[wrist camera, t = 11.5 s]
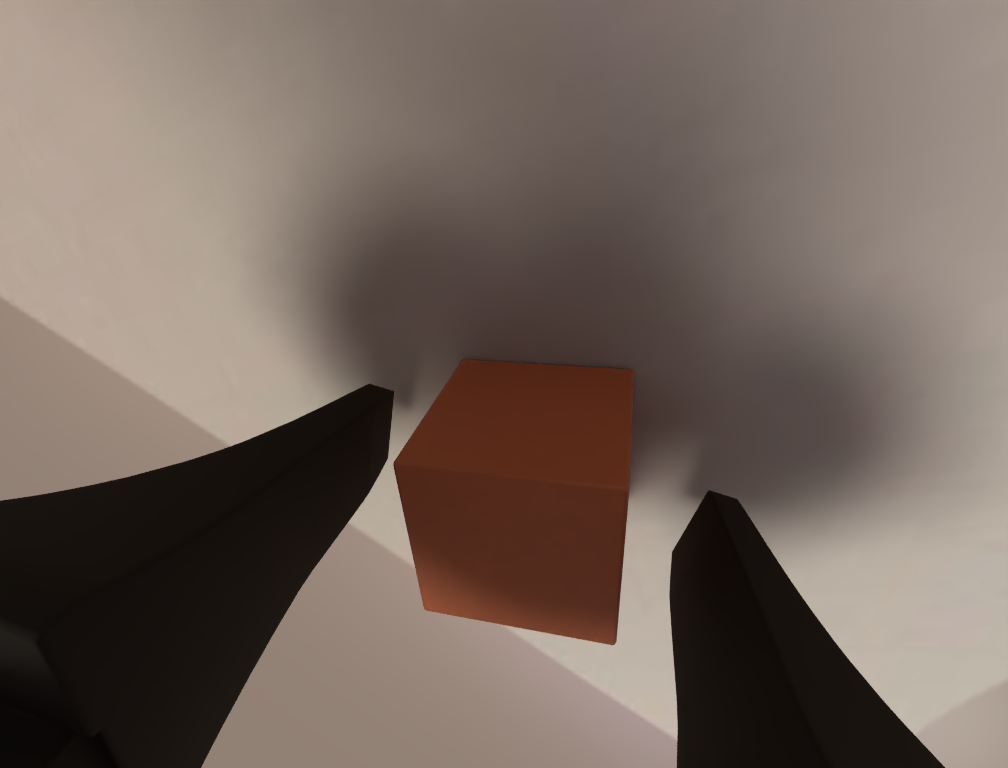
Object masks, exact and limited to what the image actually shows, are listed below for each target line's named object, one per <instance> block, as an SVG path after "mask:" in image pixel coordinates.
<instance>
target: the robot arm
mask: <svg viewBox="0 0 1008 768" xmlns="http://www.w3.org/2000/svg"><path fill="white" fill-rule="evenodd" d="M393 399H394V391H391V390H388V389H385V388H382V387H379V386H375V385H372V384H368V385H365V386H363V387H361V388H359V389H357V390H355V391H353V392H351V393H349V394H347V395H345V396H343V397H341V398H339V399H337V400H335V401H333V402H331V403H329V404H327V405H325V406H323V407H321V408H319V409H317V410H315V411H312V412H310V413H308V414H306V415H304V416H302V417H300V418H298V419H296V420H294V421H291V422H289V423H287V424H284V425H282V426H280V427H277V428H275V429H273V430H270V431H268V432H266V433H263V434H261V435H258V436H256V437H254V438H251V439H249V440H246V441H244V442H241V443H239V444H236V445H233V446H231V447H228V448H225V449H222V450H219V451H216V452H213V453H210V454H207V455H204V456H201V457H198V458H195V459H192V460H189V461H185V462H182V463H179V464H175V465H171V466H167V467H164V468H160V469H156V470H152V471H149V472H145V473H141V474H138V475H134V476H130V477H126V478H122V479H117V480H113V481H108V482H104V483H99V484H95V485H90V486H85V487H80V488H75V489H70V490H64V491H59V492H54V493H48V494H42V495H37V496H30V497H23V498H17V499H10V500H3V501H0V768H201V767H202V765H203V763H204V761H205V759H206V757H207V755H208V753H209V751H210V749H211V747H212V745H213V743H214V741H215V739H216V737H217V735H218V733H219V732H220V730H221V728H222V726H223V724H224V722H225V720H226V718H227V717H228V715H229V713H230V711H231V709H232V707H233V705H234V704H235V702H236V700H237V698H238V696H239V694H240V693H241V690H242V689H243V687H244V685H245V683H246V682H247V680H248V678H249V676H250V674H251V672H252V670H253V669H254V667H255V665H256V664H257V662H258V660H259V658H260V657H261V655H262V653H263V651H264V650H265V648H266V646H267V644H268V642H269V641H270V639H271V637H272V635H273V634H274V632H275V630H276V628H277V627H278V625H279V623H280V622H281V620H282V618H283V617H284V615H285V613H286V612H287V610H288V608H289V607H290V605H291V603H292V602H293V600H294V598H295V596H296V595H297V593H298V591H299V590H300V588H301V587H302V585H303V584H304V582H305V581H306V579H307V578H308V576H309V575H310V573H311V572H312V570H313V569H314V568H315V566H316V565H317V564H318V562H319V561H320V560H321V558H322V557H323V556H324V554H325V553H326V552H327V550H328V549H329V547H330V546H331V544H332V543H333V542H334V541H335V539H336V538H337V537H338V535H339V534H340V532H341V531H342V530H343V528H344V527H345V526H346V524H347V523H348V522H349V520H350V519H351V517H352V516H353V515H354V513H355V512H356V511H357V509H358V508H359V506H360V505H361V504H362V502H363V501H364V499H365V498H366V497H367V495H368V494H369V492H370V490H371V488H372V487H373V485H374V483H375V481H376V479H377V478H378V476H379V474H380V472H381V470H382V468H383V466H384V465H385V463H386V461H387V459H388V451H389V441H390V430H391V420H392V409H393ZM670 612H671V627H672V641H673V655H674V668H675V682H676V695H677V716H678V742H677V744H678V745H677V768H945V767H944V766H943V765H942V764H941V763H940V762H939V761H938V760H937V759H936V757H934V755H933V754H932V753H931V752H930V751H929V750H928V749H927V748H926V747H925V746H924V745H923V744H922V743H921V742H920V740H919V739H918V738H917V737H916V736H915V735H914V734H913V733H912V732H911V731H910V730H909V729H908V728H907V727H906V726H905V724H904V723H903V722H902V721H901V720H900V719H899V718H898V717H897V716H896V714H895V713H894V712H893V711H892V710H891V709H890V708H889V707H888V706H887V704H886V703H885V702H884V701H883V700H882V699H881V698H880V696H879V695H878V694H877V693H876V692H875V690H874V689H873V688H872V687H871V686H870V684H869V683H868V682H867V681H866V680H865V678H864V677H863V676H862V675H861V674H860V673H859V671H858V670H857V669H856V668H855V667H854V665H853V664H852V663H851V662H850V661H849V659H848V658H847V657H846V656H845V654H844V653H843V652H842V650H841V649H840V648H839V647H838V645H837V644H836V643H835V642H834V640H833V639H832V638H831V636H830V635H829V633H828V632H827V631H826V629H825V628H824V627H823V625H822V624H821V623H820V621H819V620H818V619H817V617H816V616H815V615H814V613H813V612H812V611H811V609H810V608H809V606H808V605H807V604H806V602H805V601H804V599H803V598H802V596H801V595H800V594H799V592H798V591H797V589H796V588H795V586H794V585H793V583H792V582H791V581H790V579H789V578H788V576H787V575H786V573H785V572H784V570H783V569H782V567H781V566H780V564H779V562H778V561H777V559H776V558H775V556H774V555H773V553H772V552H771V550H770V549H769V547H768V546H767V544H766V542H765V541H764V539H763V538H762V536H761V535H760V533H759V531H758V530H757V528H756V527H755V525H754V524H753V522H752V521H751V519H750V517H749V516H748V514H747V513H746V511H745V510H744V508H743V507H742V505H741V504H740V502H739V501H738V500H737V499H735V498H732V497H729V496H726V495H723V494H720V493H716V492H713V491H710V490H708V492H707V493H706V495H705V497H704V499H703V500H702V502H701V504H700V505H699V507H698V509H697V510H696V512H695V514H694V516H693V517H692V519H691V521H690V522H689V524H688V526H687V528H686V529H685V531H684V533H683V534H682V536H681V538H680V539H679V541H678V543H677V545H676V546H675V548H674V550H673V551H672V562H671V576H670Z"/></svg>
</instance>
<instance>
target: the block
mask: <svg viewBox="0 0 1008 768" xmlns="http://www.w3.org/2000/svg"><path fill="white" fill-rule="evenodd" d="M633 388H634V371H633V370H631V369H615V368H598V367H581V366H565V365H548V364H531V363H515V362H498V361H481V360H462V361H461V363H460V364H459V366H458V367H457V369H456V370H455V372H454V373H453V375H452V376H451V378H450V379H449V381H448V382H447V384H446V385H445V387H444V388H443V390H442V391H441V393H440V394H439V396H438V397H437V398H436V400H435V401H434V403H433V404H432V406H431V407H430V409H429V410H428V412H427V413H426V415H425V416H424V418H423V419H422V421H421V422H420V424H419V425H418V427H417V428H416V430H415V431H414V433H413V434H412V436H411V437H410V439H409V440H408V442H407V443H406V445H405V446H404V448H403V449H402V451H401V452H400V454H399V455H398V457H397V458H396V460H395V461H394V470H395V475H396V479H397V484H398V489H399V493H400V498H401V503H402V508H403V512H404V517H405V522H406V526H407V531H408V536H409V540H410V545H411V550H412V554H413V559H414V564H415V568H416V573H417V578H418V582H419V587H420V592H421V596H422V601H423V606H424V609H425V610H427V611H432V612H437V613H443V614H448V615H454V616H459V617H464V618H469V619H475V620H481V621H486V622H492V623H497V624H502V625H507V626H513V627H518V628H523V629H529V630H534V631H539V632H545V633H550V634H556V635H561V636H566V637H572V638H577V639H582V640H588V641H593V642H599V643H604V644H609V645H614V644H615V643H616V639H617V627H618V615H619V604H620V592H621V580H622V568H623V557H624V545H625V533H626V521H627V510H628V498H629V482H630V458H631V435H632V412H633Z"/></svg>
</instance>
